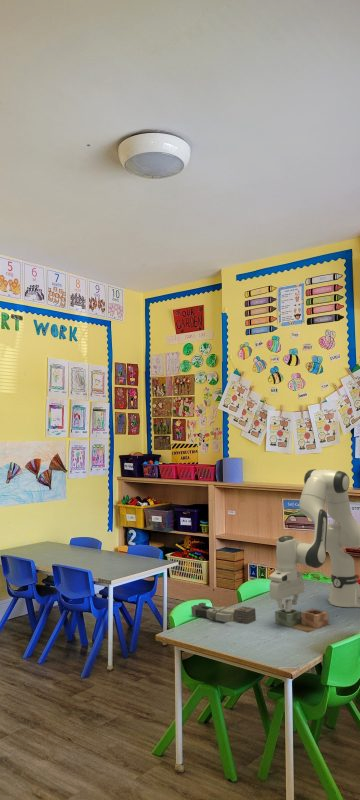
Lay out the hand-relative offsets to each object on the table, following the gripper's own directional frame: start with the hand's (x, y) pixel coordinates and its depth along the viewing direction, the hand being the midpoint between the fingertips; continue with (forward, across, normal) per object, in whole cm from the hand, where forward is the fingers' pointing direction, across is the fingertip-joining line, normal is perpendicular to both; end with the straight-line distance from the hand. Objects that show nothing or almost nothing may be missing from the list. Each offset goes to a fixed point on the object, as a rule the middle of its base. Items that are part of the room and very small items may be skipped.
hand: (288, 606), depth 249 cm
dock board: (+9, -4, +4) cm, 10 cm away
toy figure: (+9, +13, -27) cm, 31 cm away
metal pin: (+7, 0, 0) cm, 7 cm away
